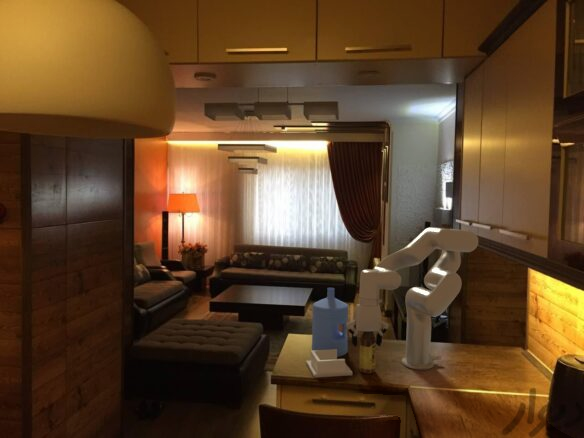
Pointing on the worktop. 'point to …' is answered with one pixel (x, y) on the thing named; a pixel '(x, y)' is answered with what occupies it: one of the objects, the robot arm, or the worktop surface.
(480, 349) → the worktop surface
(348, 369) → the end holder
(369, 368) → the sauce bottle
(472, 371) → the worktop surface
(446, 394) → the worktop surface
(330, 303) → the water jug
